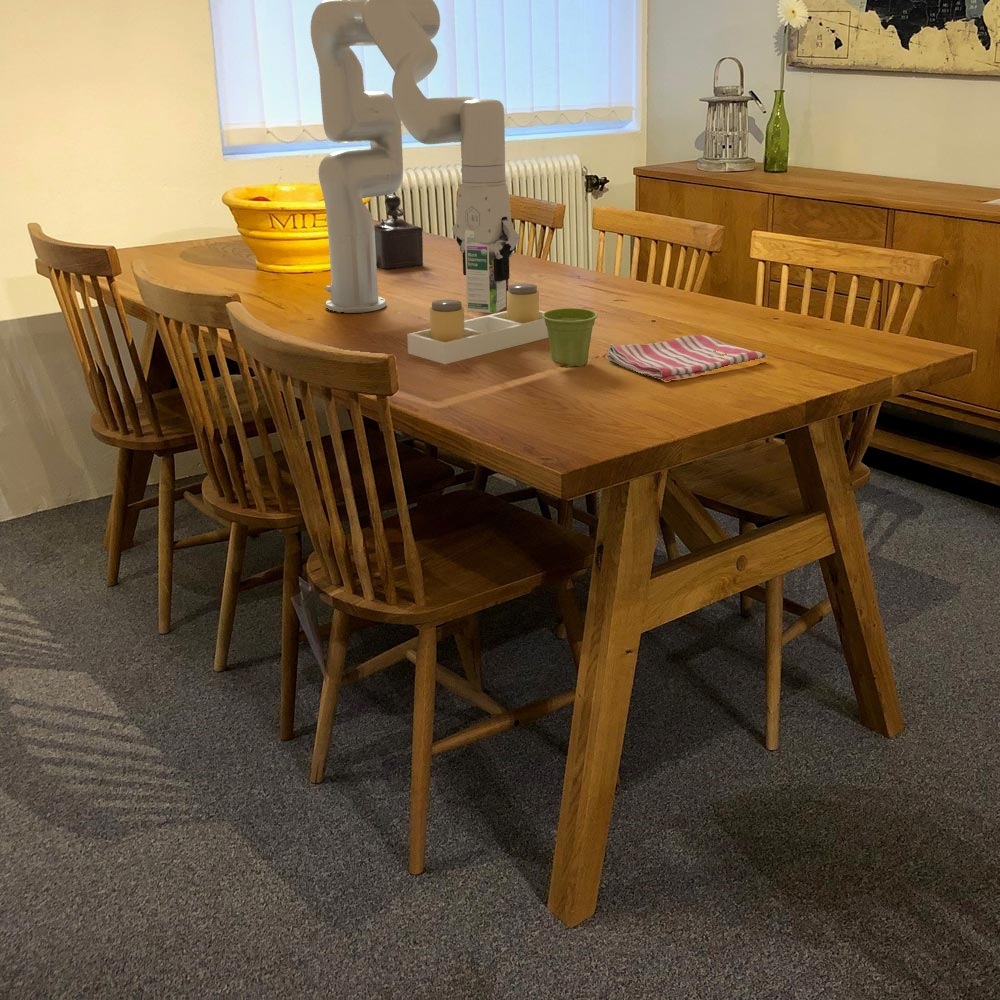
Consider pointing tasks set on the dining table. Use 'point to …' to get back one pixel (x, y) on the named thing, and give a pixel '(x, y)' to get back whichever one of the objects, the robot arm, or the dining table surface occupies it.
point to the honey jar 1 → (447, 320)
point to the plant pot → (569, 334)
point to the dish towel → (679, 357)
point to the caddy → (477, 338)
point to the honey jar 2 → (522, 303)
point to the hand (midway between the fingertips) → (486, 276)
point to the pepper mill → (397, 239)
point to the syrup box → (482, 277)
